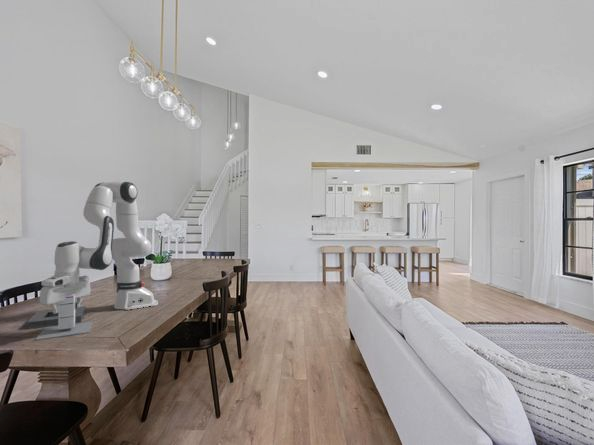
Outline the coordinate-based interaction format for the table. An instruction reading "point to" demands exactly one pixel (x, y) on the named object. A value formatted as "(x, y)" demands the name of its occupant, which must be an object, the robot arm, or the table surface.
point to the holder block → (51, 318)
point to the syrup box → (66, 312)
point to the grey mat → (64, 331)
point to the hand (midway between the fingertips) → (67, 310)
